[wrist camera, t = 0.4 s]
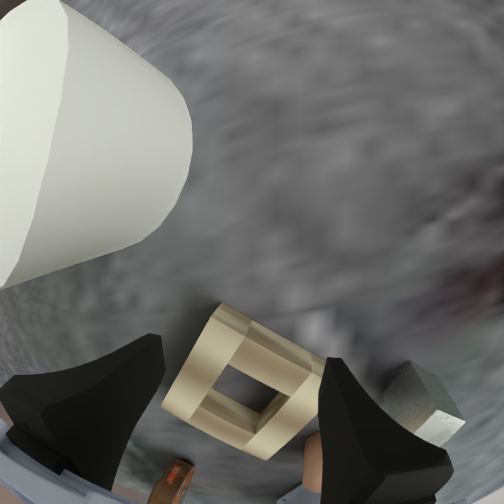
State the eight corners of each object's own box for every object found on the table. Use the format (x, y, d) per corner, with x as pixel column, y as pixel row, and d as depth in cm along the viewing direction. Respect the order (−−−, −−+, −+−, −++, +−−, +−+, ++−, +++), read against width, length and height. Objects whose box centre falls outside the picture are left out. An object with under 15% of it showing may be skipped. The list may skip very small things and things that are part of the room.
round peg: (332, 463, 24) (333, 497, 19) (294, 449, 25) (291, 485, 20) (363, 437, 23) (369, 473, 18) (324, 422, 23) (325, 460, 19)
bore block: (270, 439, 25) (266, 460, 22) (172, 388, 25) (160, 406, 22) (338, 366, 22) (341, 387, 19) (222, 301, 23) (210, 316, 20)
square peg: (410, 406, 22) (429, 455, 15) (381, 393, 22) (398, 446, 15) (437, 375, 21) (465, 421, 14) (410, 360, 21) (437, 409, 14)
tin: (183, 500, 30) (165, 539, 22) (164, 492, 30) (143, 530, 22) (200, 454, 27) (176, 507, 19) (174, 443, 27) (146, 494, 19)
